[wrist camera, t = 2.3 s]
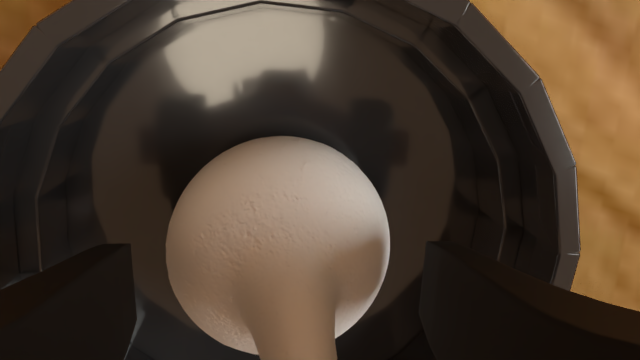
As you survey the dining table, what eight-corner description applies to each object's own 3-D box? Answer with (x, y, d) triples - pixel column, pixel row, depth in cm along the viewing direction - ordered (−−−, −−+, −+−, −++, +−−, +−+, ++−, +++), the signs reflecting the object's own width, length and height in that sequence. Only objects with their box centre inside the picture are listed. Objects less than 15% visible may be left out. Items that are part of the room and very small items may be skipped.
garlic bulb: (228, 91, 14) (174, 157, 6) (411, 177, 15) (552, 319, 8) (149, 270, 15) (25, 505, 8) (324, 335, 17) (367, 592, 9)
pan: (594, 194, 16) (693, 242, 12) (301, 476, 19) (309, 589, 15) (248, -164, 12) (237, -255, 9) (-68, 250, 15) (-188, 324, 11)
